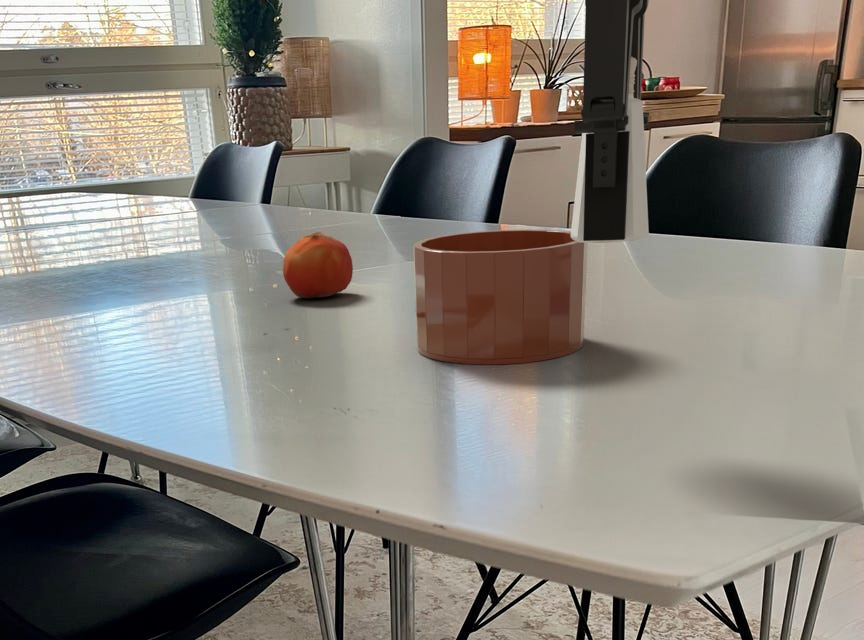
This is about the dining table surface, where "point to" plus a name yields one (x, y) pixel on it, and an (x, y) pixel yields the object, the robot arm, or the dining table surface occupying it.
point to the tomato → (317, 266)
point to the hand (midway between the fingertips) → (609, 233)
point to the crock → (500, 296)
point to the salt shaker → (636, 176)
